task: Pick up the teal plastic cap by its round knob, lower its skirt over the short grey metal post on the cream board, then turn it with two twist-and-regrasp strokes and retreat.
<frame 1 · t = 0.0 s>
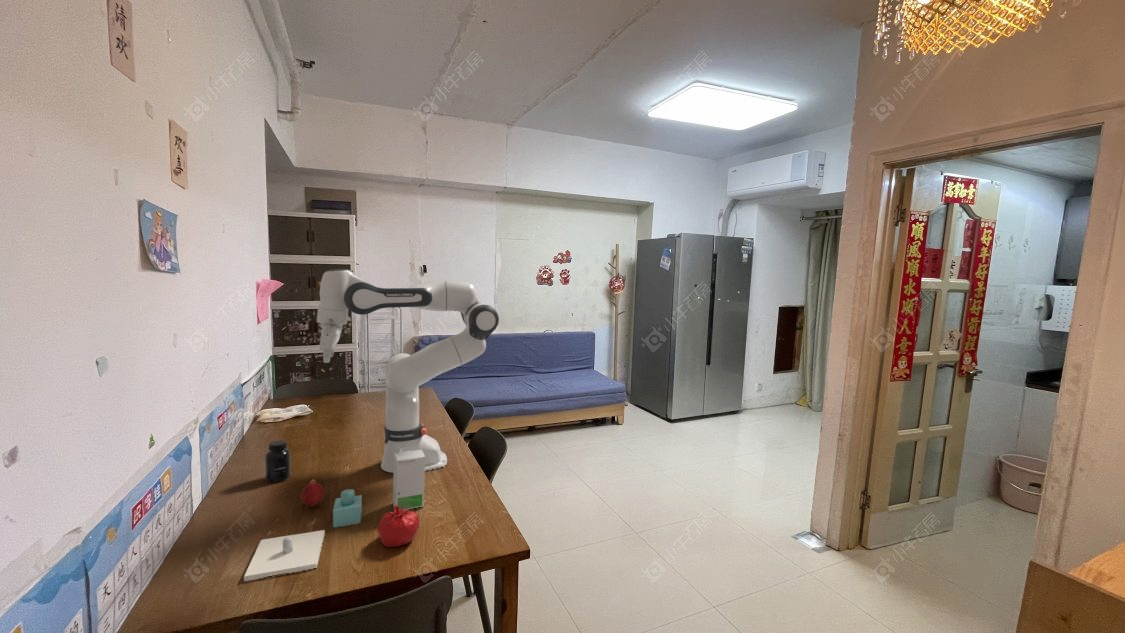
hand: (328, 359, 145), 39 cm above the table, tool pointing down, fingers open, 8 cm apart
supplement bottle: (278, 479, 144), on the table
onion: (312, 507, 128), on the table
cap: (347, 519, 123), on the table
pomegranate: (398, 540, 114), on the table
skincare box: (408, 505, 131), on the table
post stand: (287, 555, 106), on the table
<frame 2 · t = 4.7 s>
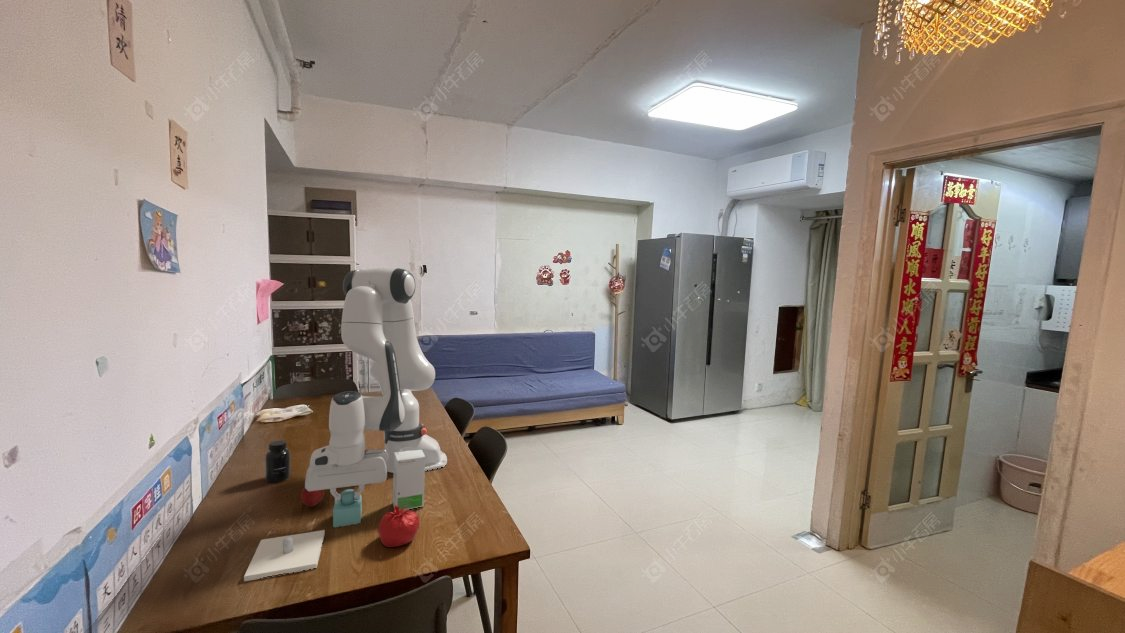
hand: (347, 500, 122), 5 cm above the table, tool pointing down, fingers closed on cap, 3 cm apart
cap: (347, 519, 123), on the table, touching gripper
everything else where it was.
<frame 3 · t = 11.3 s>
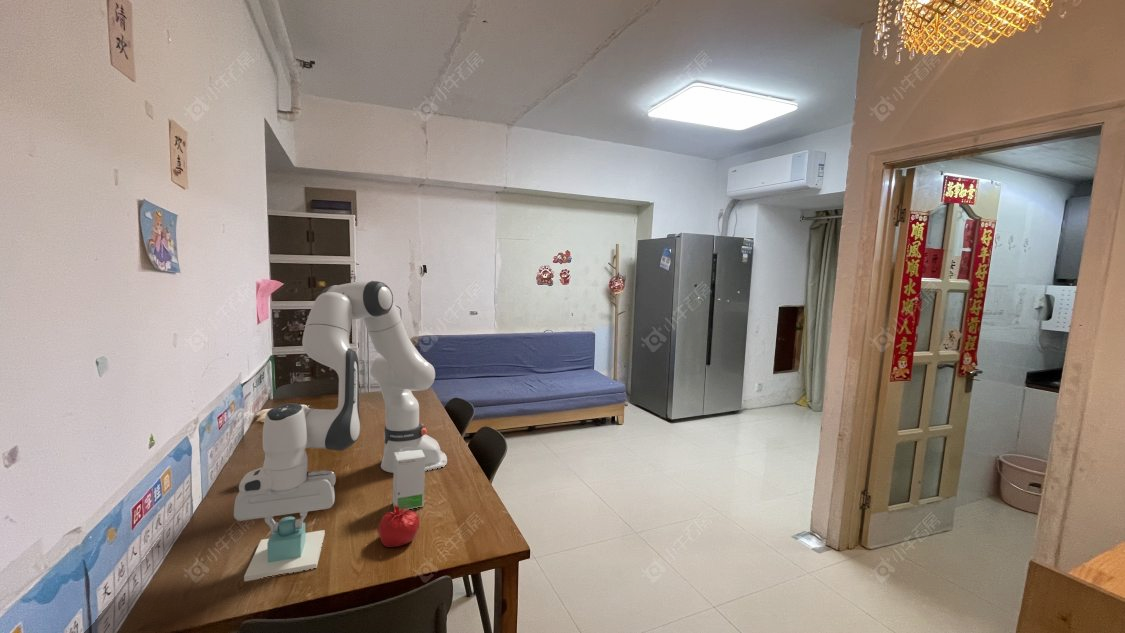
hand: (287, 529, 106), 7 cm above the table, tool pointing down, fingers closed on cap, 3 cm apart
cap: (287, 551, 106), point 1 cm above the table, touching gripper, post stand
everything else where it was.
when the fingers open (8 cm above the table, at t = 15.5 s): cap drops 1 cm, resting on post stand.
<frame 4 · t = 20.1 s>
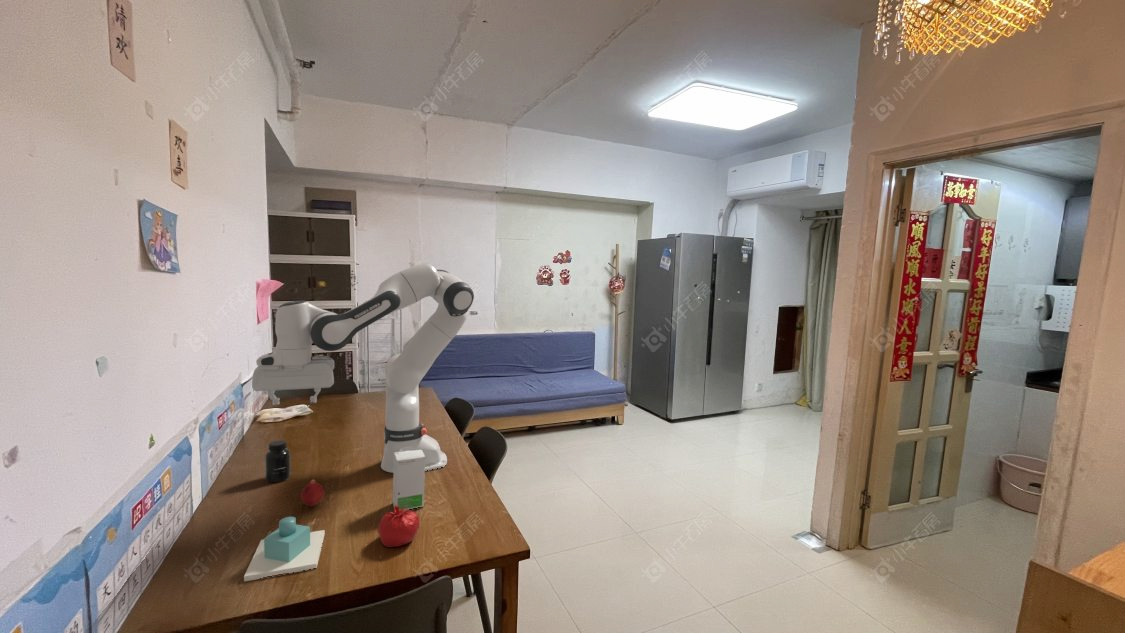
hand: (295, 403, 129), 29 cm above the table, tool pointing down, fingers open, 8 cm apart
cap: (288, 551, 106), point 1 cm above the table, touching post stand
everything else where it was.
at the end: cap 0.1 cm off-centre on the post stand, point 1.2 cm above the post stand's base; cap tilted 0°; the gripper is holding nothing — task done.
